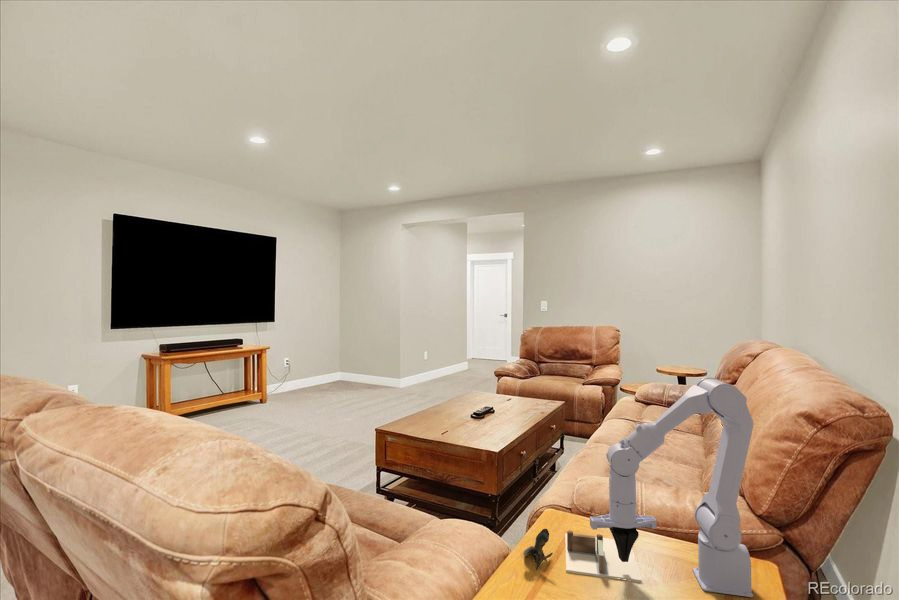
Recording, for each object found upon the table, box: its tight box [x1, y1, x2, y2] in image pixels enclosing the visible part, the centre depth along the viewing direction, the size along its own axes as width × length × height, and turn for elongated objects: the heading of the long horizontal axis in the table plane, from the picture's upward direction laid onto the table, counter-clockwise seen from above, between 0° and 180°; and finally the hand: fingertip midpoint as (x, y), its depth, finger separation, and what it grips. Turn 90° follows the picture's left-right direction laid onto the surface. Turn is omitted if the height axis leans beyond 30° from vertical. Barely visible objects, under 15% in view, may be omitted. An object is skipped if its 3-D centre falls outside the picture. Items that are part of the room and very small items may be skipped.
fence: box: [566, 530, 604, 554], centre depth 108 cm, size 8×1×4 cm, turn 76°
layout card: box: [564, 532, 643, 583], centre depth 107 cm, size 16×17×1 cm
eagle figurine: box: [523, 528, 554, 571], centre depth 106 cm, size 8×7×9 cm
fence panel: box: [598, 540, 604, 572], centre depth 103 cm, size 7×1×4 cm, turn 164°
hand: (623, 559), depth 101 cm, fingers closed
